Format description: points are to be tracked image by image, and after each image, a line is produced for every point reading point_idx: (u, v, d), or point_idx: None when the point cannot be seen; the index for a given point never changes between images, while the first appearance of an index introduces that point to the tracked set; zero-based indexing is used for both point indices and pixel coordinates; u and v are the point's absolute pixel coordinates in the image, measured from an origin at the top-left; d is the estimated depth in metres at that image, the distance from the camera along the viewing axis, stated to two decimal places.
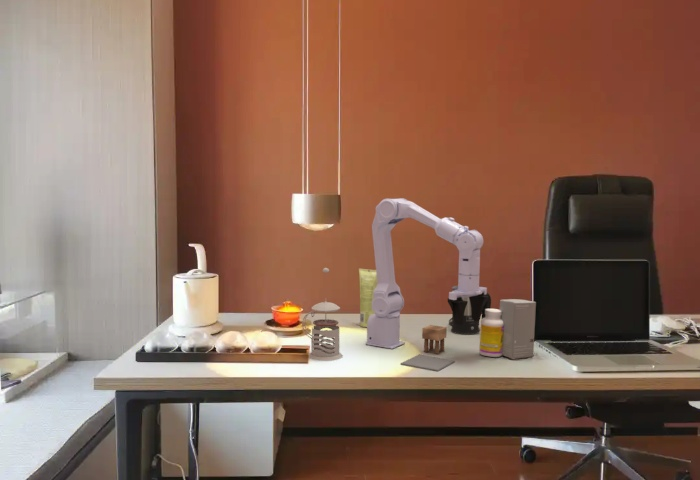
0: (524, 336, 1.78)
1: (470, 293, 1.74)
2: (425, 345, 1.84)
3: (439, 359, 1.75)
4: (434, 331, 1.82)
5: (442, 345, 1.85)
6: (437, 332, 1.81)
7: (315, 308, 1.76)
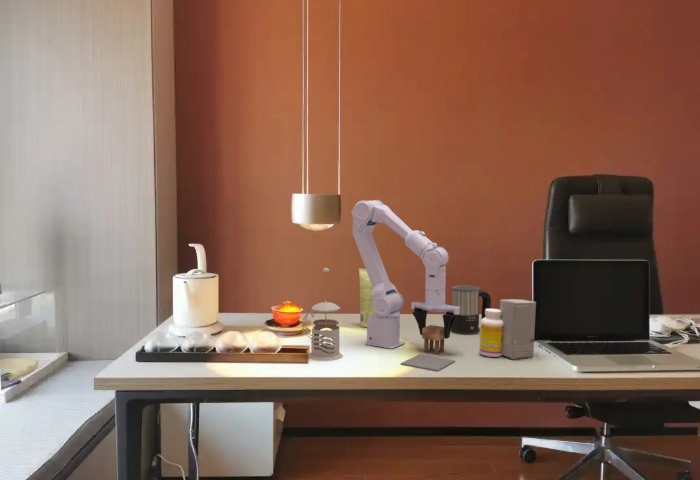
0: (524, 336, 1.78)
1: (424, 306, 1.83)
2: (425, 345, 1.84)
3: (439, 359, 1.75)
4: (434, 331, 1.82)
5: (442, 345, 1.85)
6: (437, 332, 1.81)
7: (315, 308, 1.76)
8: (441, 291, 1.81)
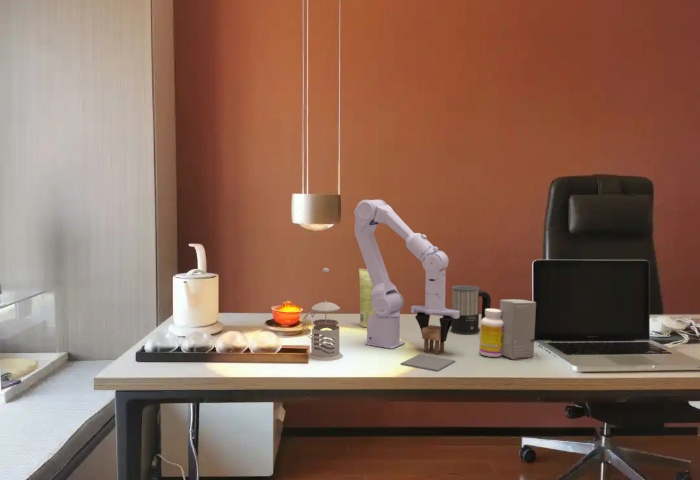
0: (524, 336, 1.78)
1: (424, 310, 1.83)
2: (425, 345, 1.84)
3: (439, 359, 1.75)
4: (434, 331, 1.82)
5: (442, 345, 1.85)
6: (437, 332, 1.81)
7: (315, 308, 1.76)
8: (441, 295, 1.81)
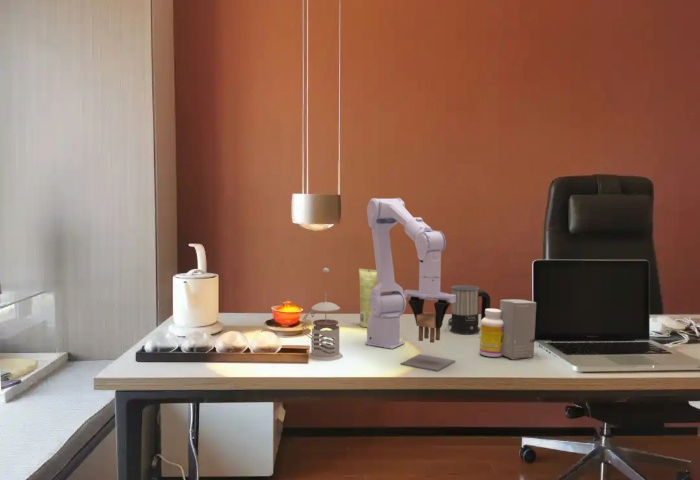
0: (524, 336, 1.78)
1: (417, 294, 1.71)
2: (419, 333, 1.72)
3: (439, 359, 1.75)
4: (429, 318, 1.69)
5: (438, 333, 1.73)
6: (432, 319, 1.69)
7: (315, 308, 1.76)
8: (436, 278, 1.69)
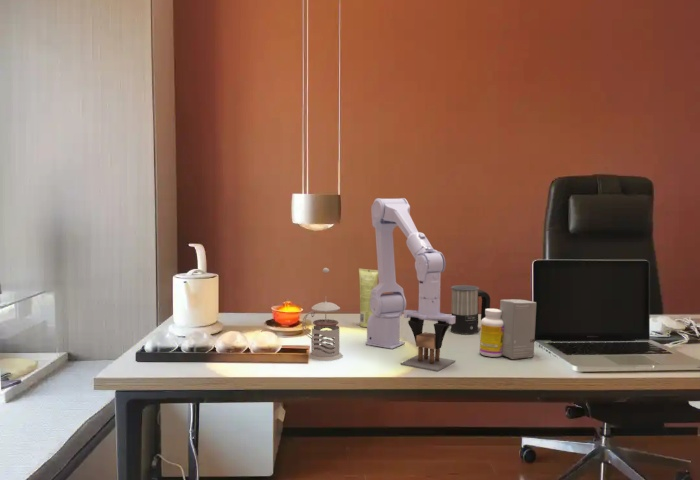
0: (524, 336, 1.78)
1: (417, 315, 1.71)
2: (419, 354, 1.72)
3: (439, 359, 1.75)
4: (429, 339, 1.70)
5: (437, 354, 1.73)
6: (432, 340, 1.69)
7: (315, 308, 1.76)
8: (435, 299, 1.69)
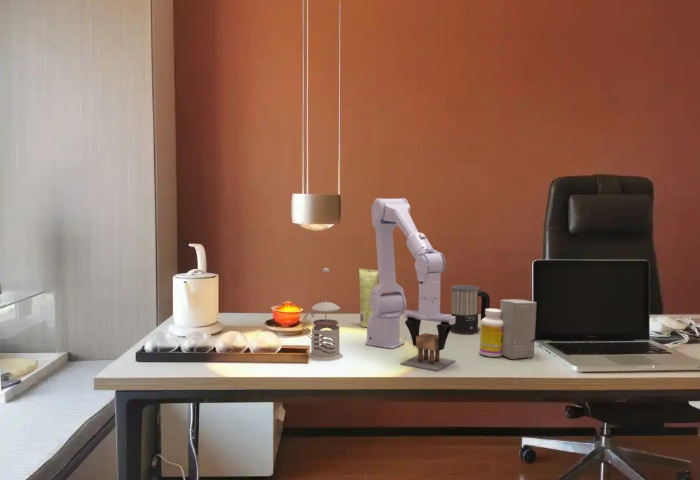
0: (524, 336, 1.78)
1: (417, 315, 1.71)
2: (419, 355, 1.72)
3: (439, 359, 1.75)
4: (429, 340, 1.70)
5: (437, 355, 1.73)
6: (432, 341, 1.69)
7: (315, 308, 1.76)
8: (435, 299, 1.69)
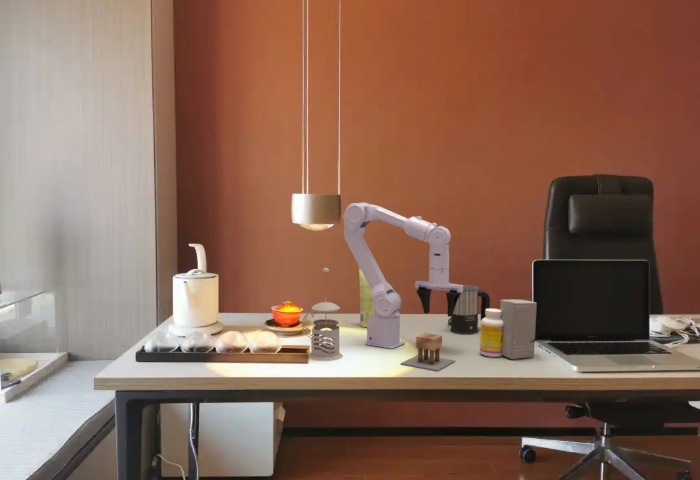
0: (524, 336, 1.77)
1: (428, 285, 1.85)
2: (419, 355, 1.72)
3: (439, 359, 1.75)
4: (429, 340, 1.70)
5: (437, 355, 1.73)
6: (432, 341, 1.69)
7: (315, 308, 1.76)
8: (444, 269, 1.83)
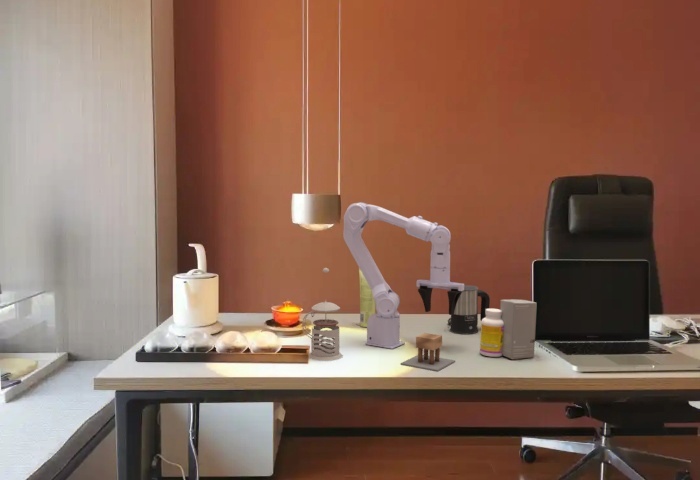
0: (524, 336, 1.77)
1: (429, 283, 1.87)
2: (419, 355, 1.72)
3: (439, 359, 1.75)
4: (429, 340, 1.70)
5: (437, 355, 1.73)
6: (432, 341, 1.69)
7: (315, 308, 1.76)
8: (446, 268, 1.85)
